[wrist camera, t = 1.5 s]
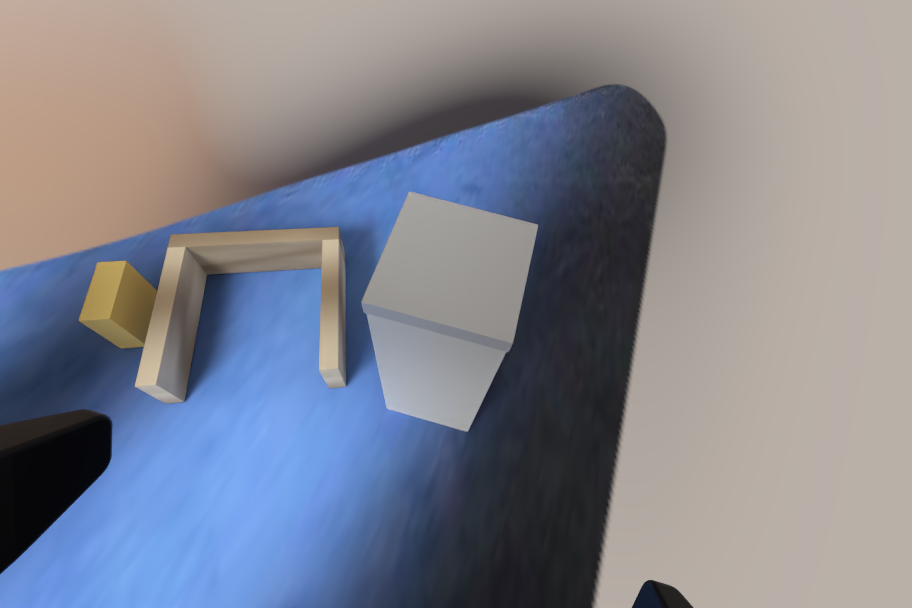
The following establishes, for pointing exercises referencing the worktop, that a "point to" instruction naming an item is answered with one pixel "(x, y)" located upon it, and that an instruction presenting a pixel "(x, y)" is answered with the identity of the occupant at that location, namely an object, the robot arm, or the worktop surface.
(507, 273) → the white plug
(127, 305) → the mustard block
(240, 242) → the bay
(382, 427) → the worktop surface
